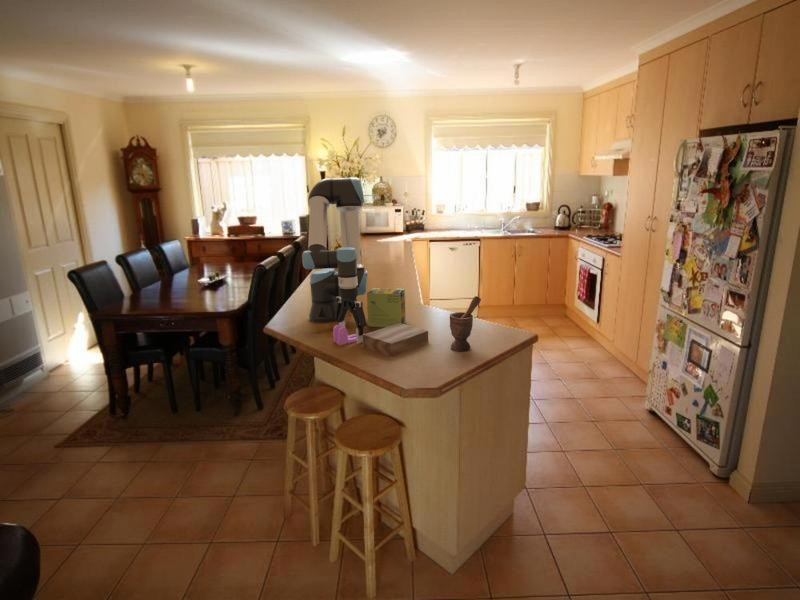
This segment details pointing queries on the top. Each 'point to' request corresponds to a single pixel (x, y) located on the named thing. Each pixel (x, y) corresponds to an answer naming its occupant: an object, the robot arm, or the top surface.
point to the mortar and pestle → (462, 326)
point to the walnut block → (395, 339)
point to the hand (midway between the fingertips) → (351, 339)
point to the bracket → (343, 335)
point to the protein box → (386, 307)
